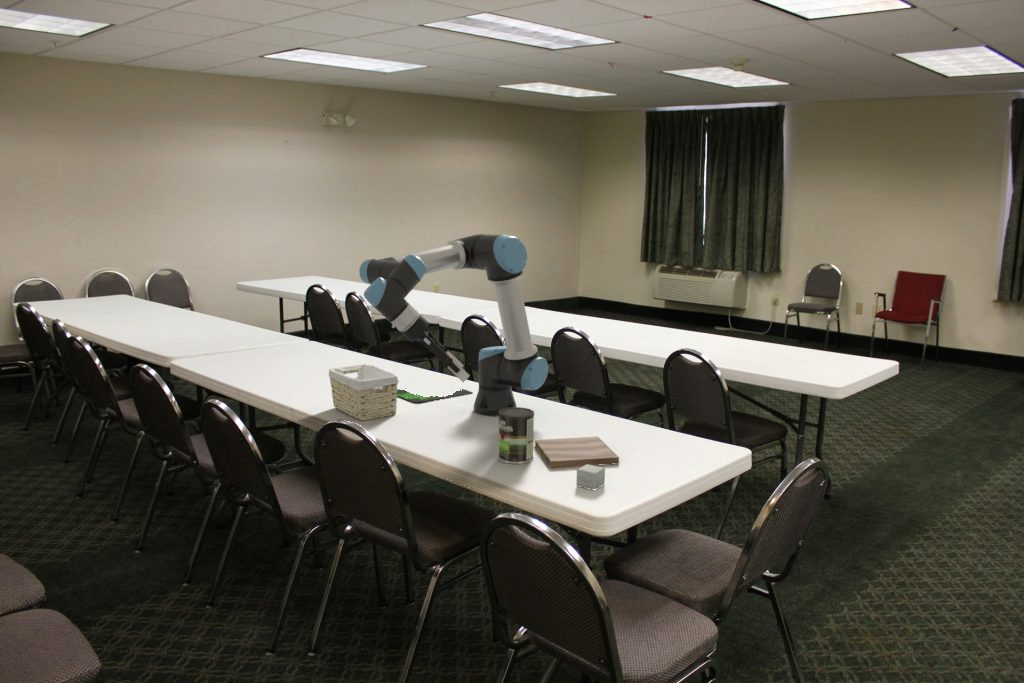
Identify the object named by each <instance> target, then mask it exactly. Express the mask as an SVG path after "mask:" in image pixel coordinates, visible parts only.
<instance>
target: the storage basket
mask: <svg viewBox="0 0 1024 683" xmlns="http://www.w3.org/2000/svg"><path fill="white" fill-rule="evenodd" d="M354 373H357V376H356V377H351V376H349V375H348V374H354ZM328 377H329V383H330V386H331V387H330V388H331V394H332V395H331V396H332V403H333V405H332V406H333V407H334V408H335V409H337V410H339V411H342V413H343V412H344V413H345V414H347V415H349V416H350V417H351V418H355V419H356V420H359V421H363V420H364V421H368V420H374V419H379V418H378V417H380V418H385V417H384V416H386V417H391V416H394V415H396V414H397V402H398V400H397V398H398V397H397V390H398V383H399V381H400V380H399V376H398V375H397V374H395V373H393V372H391V371H388V370H386V369H384V368H381V367H378V366H375V365H372V364H370V363H369V364H368V363H363V364H362V363H361V364H355V365H354V364H353V365H345V366H339V367H338V366H337V367H331V368H329V369H328ZM390 415H391V416H390ZM373 418H374V419H373Z"/></svg>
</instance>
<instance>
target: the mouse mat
mask: <svg viewBox="0 0 1024 683" xmlns="http://www.w3.org/2000/svg"><path fill="white" fill-rule="evenodd" d="M461 389H462V391H461V390H460V391H456V392H455V393H453V395H448V396H446V397H444V396H443V397H438V396H435V397H433V396H430V397H423V396H420V395H417V394H416V395H414V394H411V393H409V392H407V391H405V390H400V389H399V388H397V396H398V397H397V398H399V397H400V398H399V399H402V398H403V400H405V399H406V400H405V401H407V400H408V401H409V402H410V401H411V403H413V404H422V403H429V402H428V401H430V402H435V401H434V400H436V401H440V399H442V400H446V399H445V398H447V399H452V398H457V397H462V396H466V395H472V394H474V392H472V391H470V390H466V389H463V388H461ZM451 397H452V398H451Z"/></svg>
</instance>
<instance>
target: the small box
mask: <svg viewBox="0 0 1024 683" xmlns="http://www.w3.org/2000/svg"><path fill="white" fill-rule="evenodd" d="M605 475H606V467H602V466H598V465H594V466H593V465H588V464H586V465H584V466H580V467H579V468H577V469H576V484H575V485H577V486H581V487H586V488H590V489H596V488H598V487H599V486H601V485H603V484H604V485H605V483H606V482H605V478H606V476H605ZM604 485H603V486H604ZM577 486H576V487H577ZM581 487H580V488H581ZM586 488H585V489H586ZM590 489H589V490H590ZM598 489H599V488H598Z"/></svg>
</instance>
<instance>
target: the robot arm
mask: <svg viewBox="0 0 1024 683" xmlns="http://www.w3.org/2000/svg"><path fill="white" fill-rule="evenodd" d="M527 262H528V251H527V248H526V246H525V244H524V242H523V241H522V240H521V239H519V238H518V237H517V236H513V235H509V234H487V233H479V234H473V235H468V236H465V237H461V238H458V239H453V240H450V241H448V242H447V243H446V244H444V245H440V246H435V247H430V248H426V249H421V250H417V251H413V252H408V253H404V254H400V255H399V254H398V255H393V256H390V257H385V258H380V259H375V258H371V259H366V260H364V261H363V262H362V263H361V264H360V265H359V270H358V271H359V278H360V280H362V282H363V283H364V284H367V285H368V287H367V288H366V289H365V290H364V293H363V297H364V298H365V300H366V301H367V303H369V305H371V306H372V307H373V308H374V309H375V310H376V311H377V312H379V314H381V315H382V316H383V317H384V318H385V319H386V320H387V321H388V322H389V323H391V324H392V325H391V328H392V329H395V328H396V329H397V330H398V331H399V332H402V335H403V337H405V338H406V339H407V340H408V341H409V342H414V341H416V340H418V339H419V340H420V341H419V342H420V344H421V345H422V346H423V347H425V348H426V349H427V350H428V351H429V352H430V353H432V354H433V355H434V356H435V357H436V358H437V359H438V360H439V361H440V362H441V363H442V364H443V368H444V369H449V371H451V372H452V374H453V375H454V376H456V377H457V379H459V381H461V382H462V383H464V382H466V380H467V379H468V378H469V377H470V374H469V373H468V372H467V371H466V370H465V369H464V368H463V367H464V364H462V362H461V361H460V360H458V358H457V357H455V356H454V355H453V354H452V353H451V352H450V351H449V350H450V349H449V347H448V346H444V345H443V344H442V343H441V342H439V341H438V339H437V337H435V336H434V334H432V332H431V331H429V332H428V330H427V329H428V327H429V325H430V322H429V321H428V320H426V318H425V317H424V316H423V315H422V314H421V315H419V313H420V312H419V311H418V310H417V309H416V308H415V307H414V306H413V305H411V304H410V303H409V302H408V301H407V300H406V299H405V298H406V297H407V296H409V294H410V293H411V291H413V289H415V287H417V285H418V284H419V283H420V282H421V281H422V279H423V277H424V276H425V275H429V274H432V273H436V272H440V271H444V270H449V269H452V270H456V271H458V270H463V269H470V270H481V271H485V272H486V277H487V281H489V282H490V283H492V284H493V288H494V291H495V298H496V303H497V306H498V312H499V316H500V321H501V326H502V330H503V332H502V333H503V335H504V336H503V337H504V341H505V344H506V345H498V346H487V347H485V348H484V347H483V348H481V349H480V350H479V352H478V362H477V365H478V367H477V368H478V390H477V394H476V397H475V399H474V404H473V413H475V414H478V415H481V416H485V417H486V416H488V417H499V411H500V410H501V409H504V408H511V407H517V402H516V400H515V397H514V394H513V390H512V387H513V388H518V389H522V390H524V391H527V390H528V391H535V390H538V389H539V388H541V387H542V386H543V384H545V381H546V379H547V378H548V374H549V364H548V361H547V359H546V358H544V357H543V356H540V354H539V350H538V347H537V346H536V345H535V344H533V343H532V342H533V341H532V337H531V332H530V326H529V322H528V316H527V311H526V306H525V301H524V296H523V291H522V286H521V277H522V275H523V274H524V272H523V270H524V269H525V267H526V265H527Z"/></svg>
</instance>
